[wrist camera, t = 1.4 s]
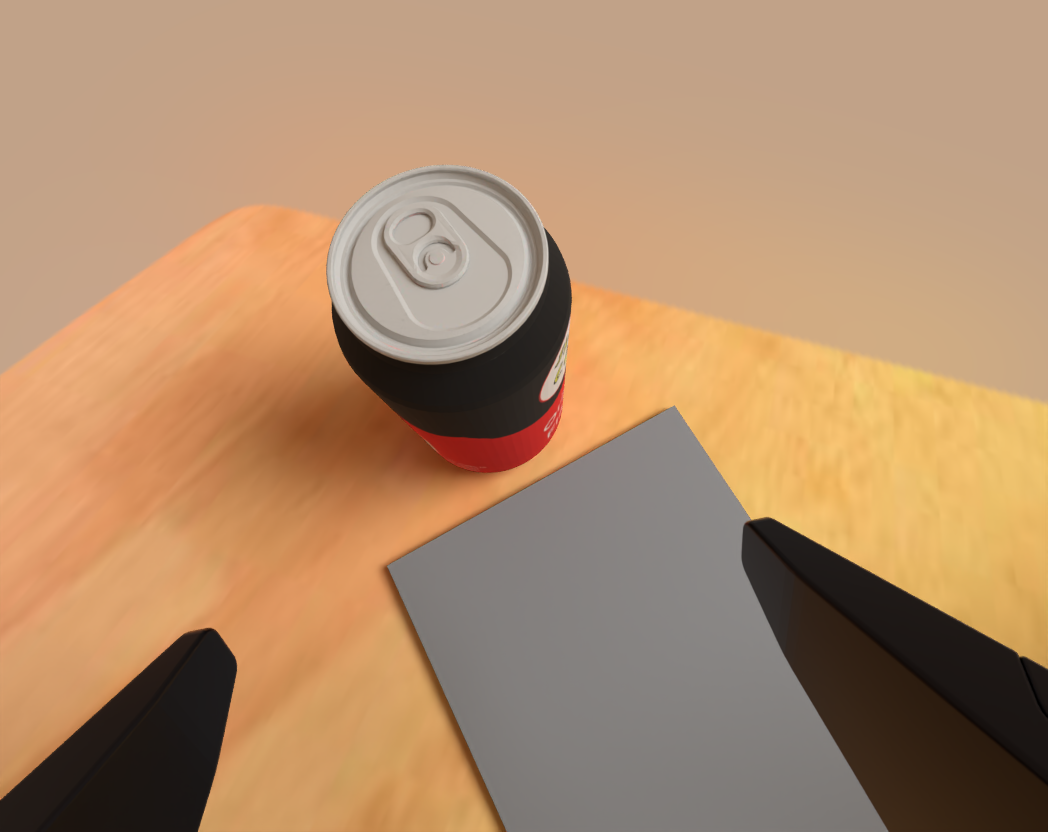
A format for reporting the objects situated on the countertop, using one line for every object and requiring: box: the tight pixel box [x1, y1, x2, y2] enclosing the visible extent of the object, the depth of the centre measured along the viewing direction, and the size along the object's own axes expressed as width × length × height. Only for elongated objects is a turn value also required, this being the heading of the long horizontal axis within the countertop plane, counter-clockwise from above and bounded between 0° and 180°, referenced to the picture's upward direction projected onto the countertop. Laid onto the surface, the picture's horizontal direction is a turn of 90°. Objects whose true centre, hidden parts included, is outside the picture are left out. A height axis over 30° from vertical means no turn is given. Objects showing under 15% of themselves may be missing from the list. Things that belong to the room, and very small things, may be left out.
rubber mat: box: [387, 405, 888, 832], centre depth 19 cm, size 20×14×1 cm
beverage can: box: [326, 165, 572, 473], centre depth 17 cm, size 6×6×12 cm
